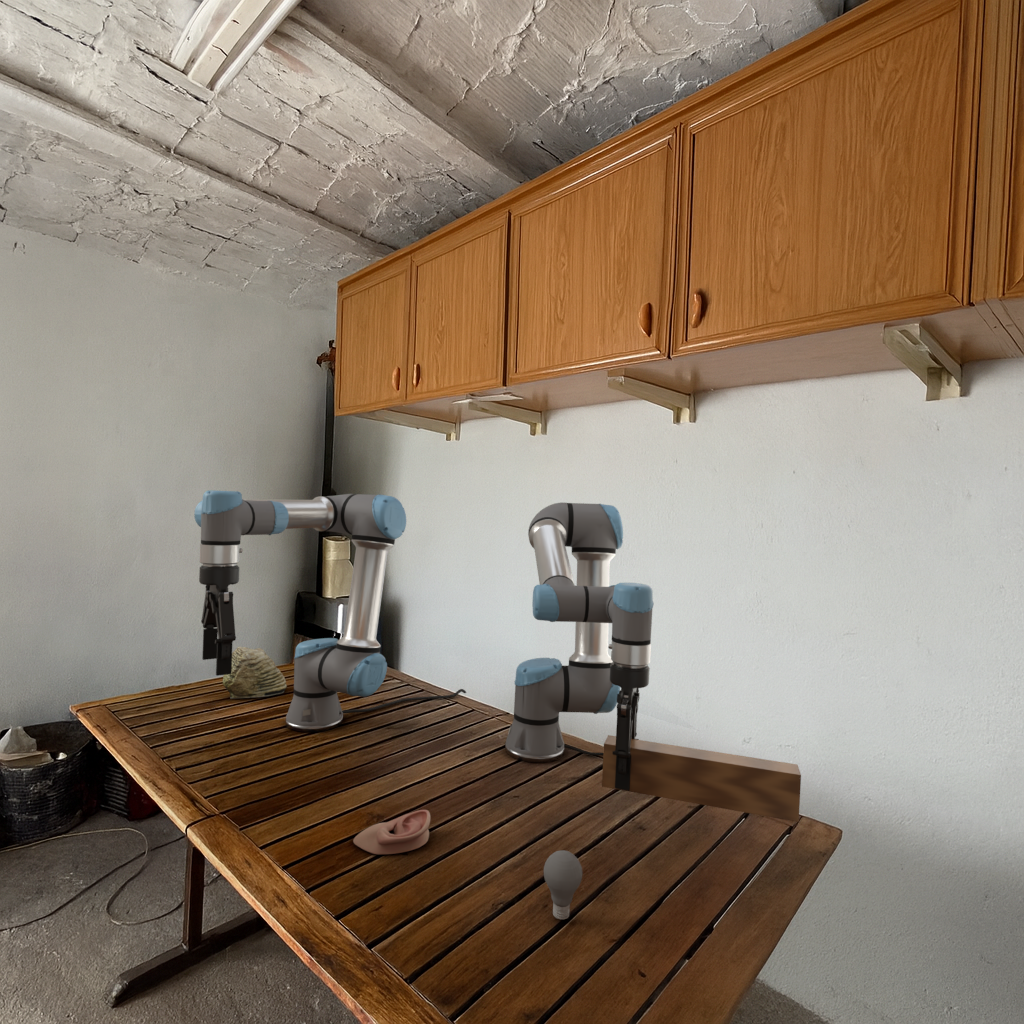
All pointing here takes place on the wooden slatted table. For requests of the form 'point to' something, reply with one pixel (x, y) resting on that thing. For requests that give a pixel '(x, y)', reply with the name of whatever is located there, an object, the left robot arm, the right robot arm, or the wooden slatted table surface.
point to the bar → (709, 778)
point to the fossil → (253, 675)
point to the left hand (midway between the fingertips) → (216, 666)
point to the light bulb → (562, 880)
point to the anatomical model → (396, 834)
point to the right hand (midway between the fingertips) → (624, 782)
